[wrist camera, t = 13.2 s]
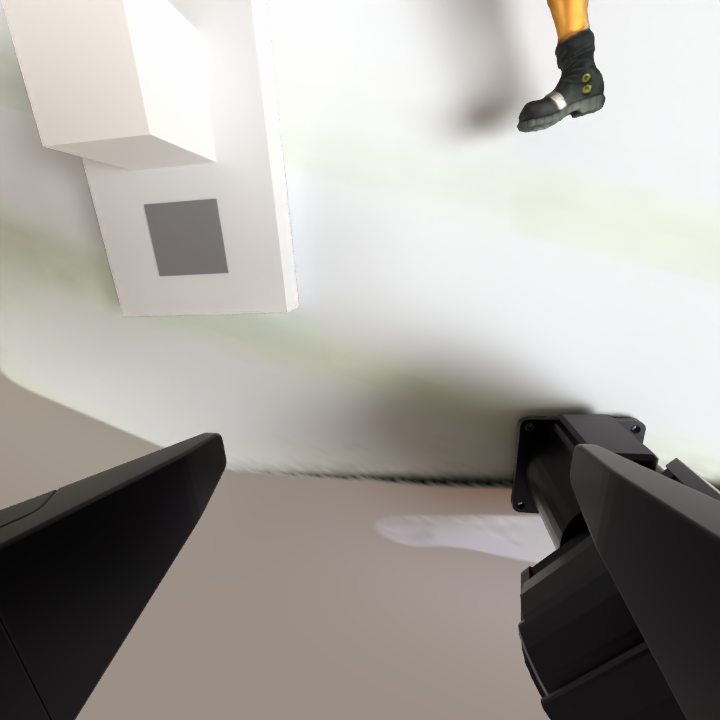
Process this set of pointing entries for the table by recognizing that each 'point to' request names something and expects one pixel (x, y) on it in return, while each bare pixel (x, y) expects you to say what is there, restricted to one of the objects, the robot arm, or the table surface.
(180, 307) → the power strip
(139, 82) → the block
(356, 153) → the table surface
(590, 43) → the action figure
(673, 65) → the table surface
